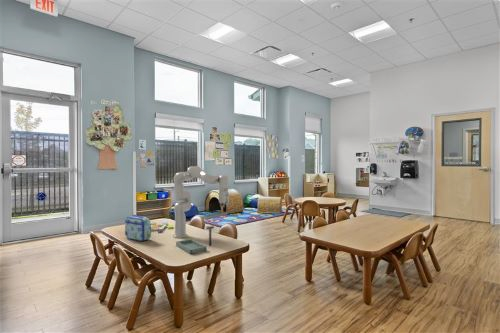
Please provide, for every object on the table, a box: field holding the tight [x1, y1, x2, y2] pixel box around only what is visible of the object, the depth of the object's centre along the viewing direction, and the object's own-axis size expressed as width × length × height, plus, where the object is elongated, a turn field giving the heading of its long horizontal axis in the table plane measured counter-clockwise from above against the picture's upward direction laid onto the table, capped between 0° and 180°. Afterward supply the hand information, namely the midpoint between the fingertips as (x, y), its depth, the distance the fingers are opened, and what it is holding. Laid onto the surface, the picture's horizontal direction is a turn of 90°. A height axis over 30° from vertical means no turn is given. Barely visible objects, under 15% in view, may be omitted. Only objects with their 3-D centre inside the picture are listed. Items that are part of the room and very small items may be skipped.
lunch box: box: [124, 214, 152, 242], centre depth 244 cm, size 26×11×21 cm, turn 58°
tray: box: [175, 238, 207, 255], centre depth 219 cm, size 26×13×4 cm, turn 38°
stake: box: [206, 225, 215, 247], centre depth 226 cm, size 2×6×16 cm, turn 128°
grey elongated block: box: [201, 206, 228, 221], centre depth 228 cm, size 21×8×7 cm, turn 128°
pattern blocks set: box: [151, 222, 174, 234], centre depth 281 cm, size 38×34×3 cm
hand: (223, 211), depth 234 cm, fingers closed on grey elongated block, 3 cm apart
